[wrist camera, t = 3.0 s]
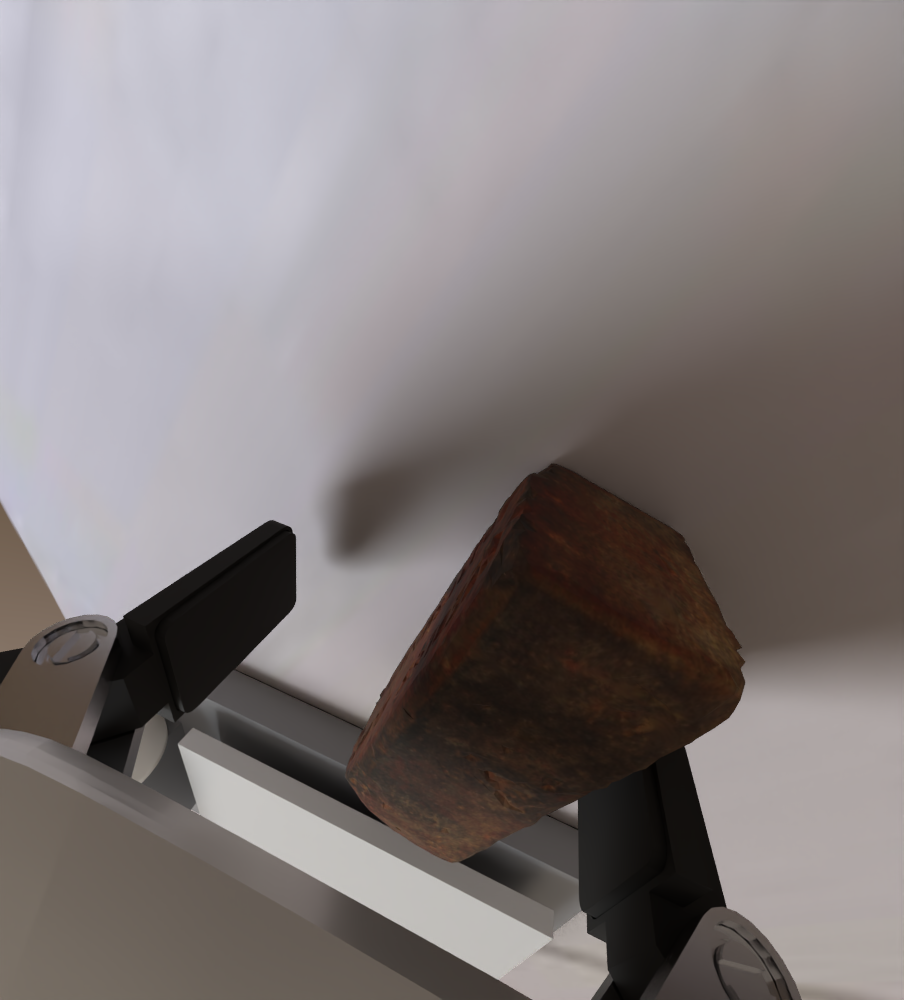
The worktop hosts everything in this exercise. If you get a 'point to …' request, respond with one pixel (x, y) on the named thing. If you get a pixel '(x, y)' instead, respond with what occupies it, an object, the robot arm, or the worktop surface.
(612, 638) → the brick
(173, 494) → the worktop surface
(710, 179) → the worktop surface
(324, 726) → the scale
